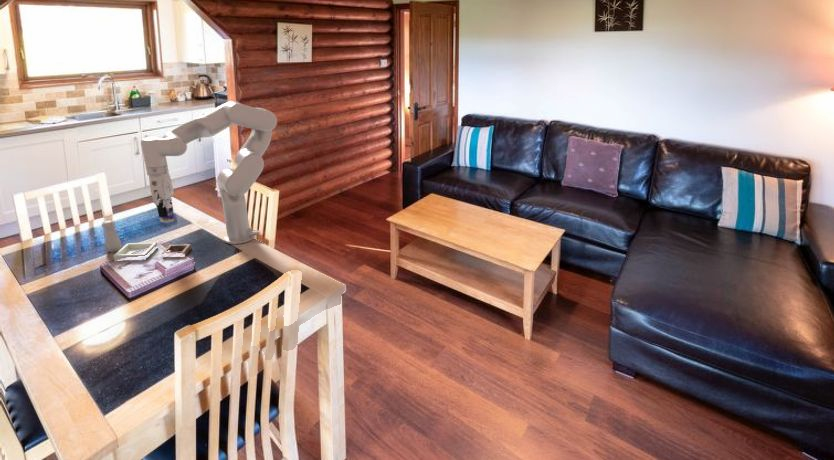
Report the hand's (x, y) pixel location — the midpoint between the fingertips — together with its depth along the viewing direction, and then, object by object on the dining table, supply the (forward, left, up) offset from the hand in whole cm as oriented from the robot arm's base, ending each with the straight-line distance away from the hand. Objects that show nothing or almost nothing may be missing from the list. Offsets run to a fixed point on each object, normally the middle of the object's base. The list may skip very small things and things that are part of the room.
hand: (166, 213), depth 195 cm
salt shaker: (+26, -5, -18) cm, 32 cm away
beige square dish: (-1, 0, -18) cm, 18 cm away
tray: (+15, 0, -18) cm, 23 cm away
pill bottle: (0, 0, -3) cm, 3 cm away
